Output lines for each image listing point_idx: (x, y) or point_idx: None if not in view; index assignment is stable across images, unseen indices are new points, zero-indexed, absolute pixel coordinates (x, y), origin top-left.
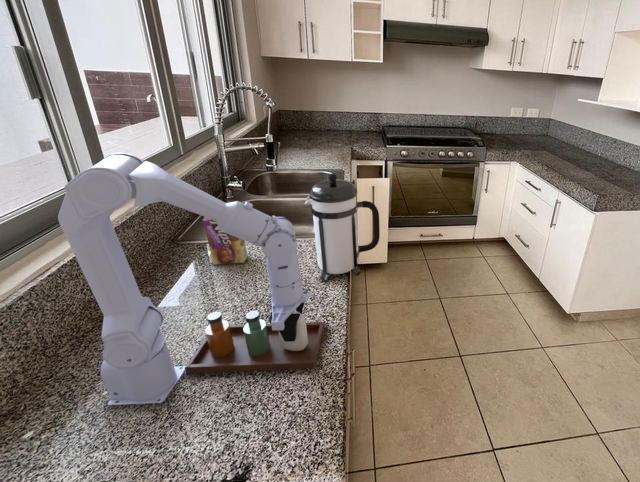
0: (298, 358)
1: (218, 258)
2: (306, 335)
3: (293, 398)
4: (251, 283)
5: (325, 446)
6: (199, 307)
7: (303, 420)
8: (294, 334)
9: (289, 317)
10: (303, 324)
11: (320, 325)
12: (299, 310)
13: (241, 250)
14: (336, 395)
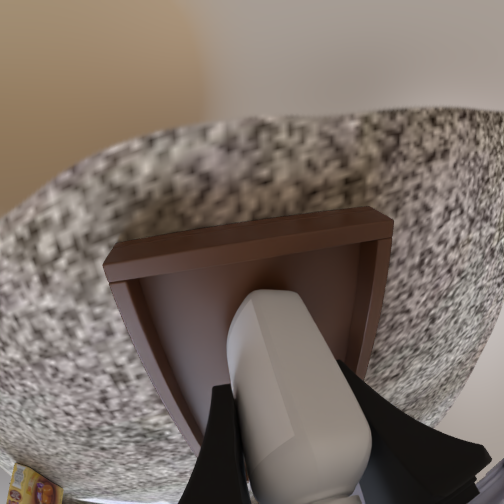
0: (322, 290)
1: (55, 494)
2: (283, 326)
3: (444, 238)
4: (57, 459)
5: None
6: (158, 491)
7: (486, 191)
8: (372, 390)
9: (454, 494)
10: (332, 403)
11: (132, 276)
12: (240, 484)
13: (24, 488)
14: (450, 108)
